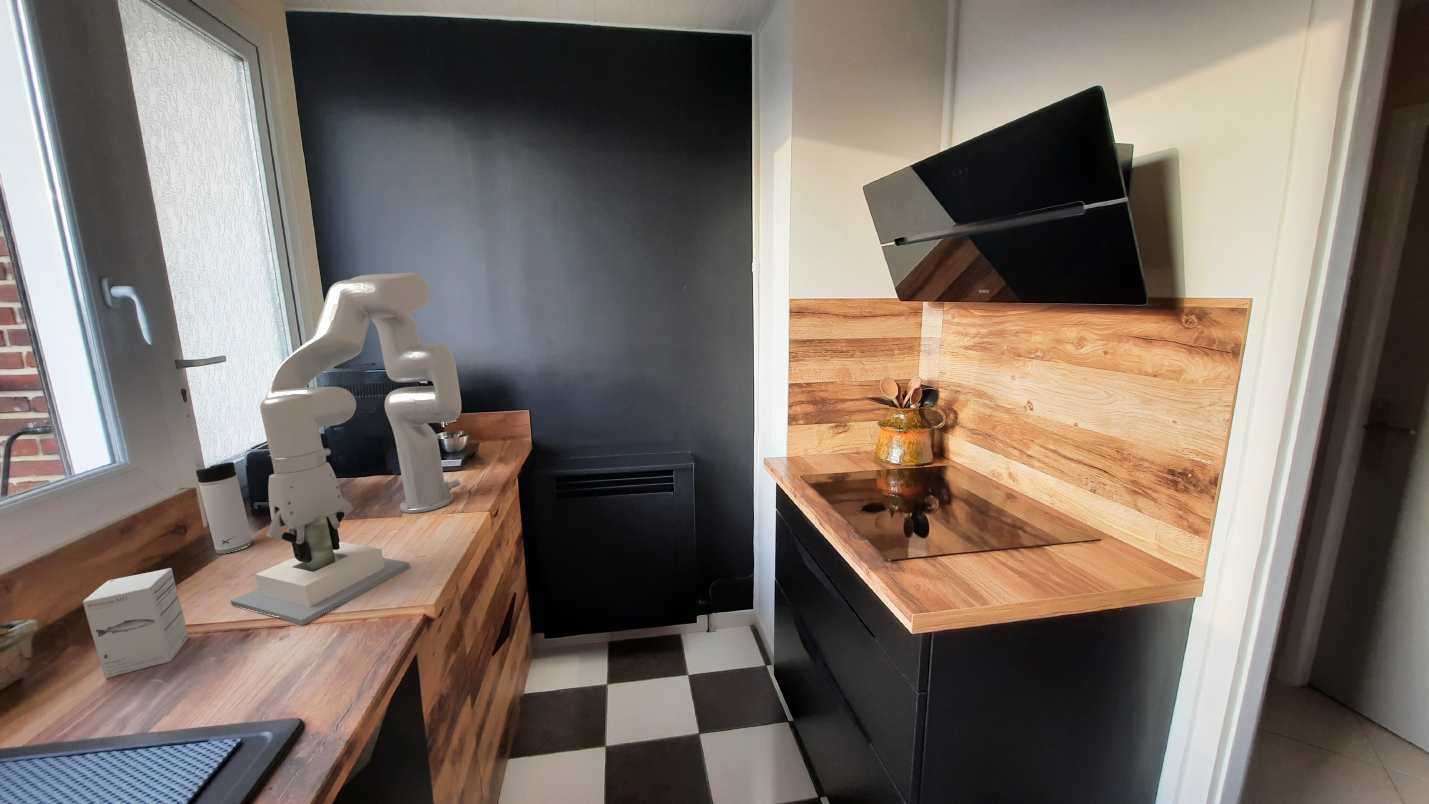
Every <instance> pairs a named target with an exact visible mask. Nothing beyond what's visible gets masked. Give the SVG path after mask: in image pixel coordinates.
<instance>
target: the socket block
mask: <svg viewBox="0 0 1429 804" xmlns="http://www.w3.org/2000/svg"><path fill="white" fill-rule="evenodd" d="M339 546H340V549H338V550H333V552H334V557H335V562H334V563H332V564H330V565H328V566H325V567H323V568H321V569H319V570H317V571H315V572H312V571H307V568H306V563H305V562H300V561H298V560H297V559H296V558H295V556H294V557H293V558H290V559H287V560H286V561H283V562H281V563H279V564H276V565H274V566H272V567H269V568H267V569H264V570H262V571H260V572H258V573H255V575H254V576H255V580H256V584H257V588H256V589H252V590H251V591H249V592H246V593H245V594H241V595H239V596H238V597H236V598H233V599H231V600H230V603H231V606H232V605H234V606H233V607H235V606H238V607H237V608H239V607H242V608H246V609H250V610H254V611H258V612H262V613H265V614H270V615H274V616H279V617H281V618H282V619H284V620H283V621H285V622H290V623H293V624H297V625H300V626H304V625H306V624H308V623H310V622H312V621H314V620H315V619H317V618H319V617H321V616H322V615H321V614H323V613H324V612H326V611H328V610H330V611H332V610H334V609H336V608H337V607H336V606H338V607H339V605H340V606H342V605H343V604H346V602H349V601H350V600H353V599H354V598H356V597H359V595H361V594H363V593H366V592H368V591H369V590H371V589H373V588H374V587H376V586H378V585H380V584H382V583H384V582H386V581H388V580H389V579H390V578H393V577H394V576H397V575H398V574H400V573H402V572H404V571H405V570H408V569H409V568H411V565H410V562H408V561H403V560H402V561H401V560H397V559H392V558H386V557H383V551H382V548H377V547H371V546H365V545H362V544H361V545H360V544H357V543H356V544H354V543H349V542H344V541H340V542H339ZM335 607H336V608H335ZM242 608H241V609H242ZM333 608H334V609H333ZM246 609H245V610H246ZM331 609H332V610H331ZM250 610H249V611H250ZM320 615H321V616H320ZM323 615H324V614H323ZM282 619H281V620H282Z"/></svg>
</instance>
